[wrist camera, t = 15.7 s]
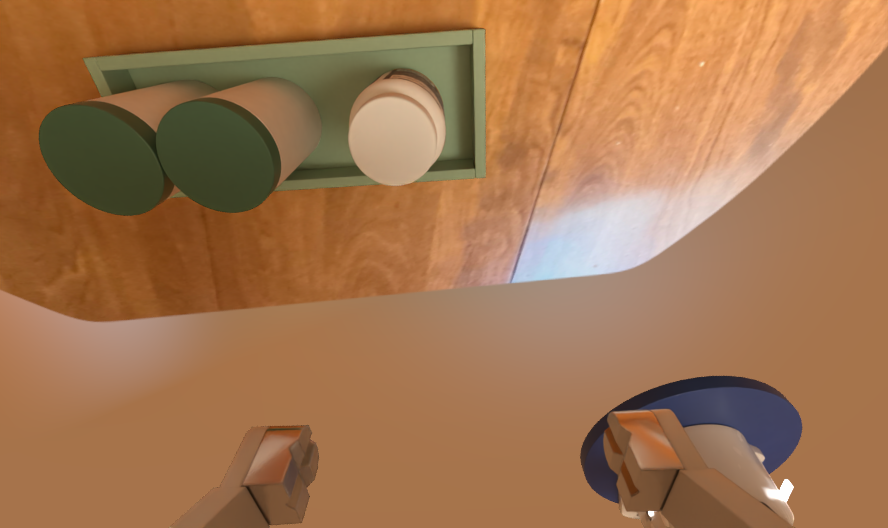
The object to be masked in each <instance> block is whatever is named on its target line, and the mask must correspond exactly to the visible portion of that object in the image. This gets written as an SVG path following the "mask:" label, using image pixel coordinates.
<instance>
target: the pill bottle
mask: <svg viewBox="0 0 888 528" xmlns="http://www.w3.org/2000/svg"><path fill="white" fill-rule="evenodd" d="M445 139H446V125H445V114H444V105H443V101H442V98H441V95H440V93H439V91H438V89H437V88H436V86H435V85H434V83H433V82H432V81H431V80H430V79H429V78H428V77H426V76H425V75H423V74H422V73H420V72H418V71H415V70H411V69H394V70H391V71H389V72H387V73H385V74H383V75H381V76H380V77H378V78H377V79H376V80H375V81H374V82H372V83H371V84H370V85H369V86H368V87H366V88H365V89H364V90H363V91H362V92H361V93H360V94H359V95H358V97H357V98H356V100H355V102H354V104H353V107H352V109H351V112H350V118H349V133H348V143H349V149H350V152H351V155H352V158H353V160H354V162H355V163H356V165H357V166H358V168H359V169H360V170H361V171H362V172H363V173H364V174H365V175H366V176H368V177H369V178H371V179H372V180H374V181H376V182H378V183H381V184H384V185H389V186H401V185H406V184H409V183H412V182H414V181H416V180H418V179H419V178H420V177H422V176H423V175H424V174H425V173H426V172H427V171H428V169H429V168H430V167H431V166H432V165H433V164H434V163H435V161H436V160H437V159H438V157H439V156H440V154H441V152H442V150H443V148H444V144H445Z"/></svg>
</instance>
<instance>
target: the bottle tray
mask: <svg viewBox="0 0 888 528" xmlns="http://www.w3.org/2000/svg"><path fill="white" fill-rule="evenodd" d="M83 60H84V62H85V64H86V66H87V68H88V70H89V72H90V74H91V76H92V78H93V80H94V82H95V84H96V87H97V89H98V91H99V93H100V95H101V97H105V96H110V95H114V94H119V93H124V92H128V91H133V90H137V89H142V88H146V87H151V86H156V85H160V84H165V83H169V82H174V81H178V80H196V81H200V82H203V83H205V84H208V85H209V86H211V87H213V88H215V89H216V90H218V91H223V90H226V89H229V88H232V87H236V86H239V85H242V84H245V83H248V82H252V81H255V80H258V79H261V78H266V77H278V78H282V79H286V80H288V81H291V82H293V83H295V84H296V85H298V86H299V87H301V88H302V89H303V90H304V91H305V92H306V93H307V94H308V95H309V96H310V97H311V99H312V100H313V102H314V103H315V105H316V107H317V109H318V111H319V114H320V118H321V123H322V133H321V138H320V141H319V143H318V145H317V147H316V148H315V150H314V151H313V152H312V153H311V154H310V155H309V156H308V157H307V158H306V159H305V160H304V161H303V162H302V163H301V164H300V165H299V166H298V167H297V168H296V169H295V170H294V171H293V172H292V173H291V174H290V175H289V176H288V177H287V178H286V179H285V180H284V181H283V182H282V183H281V184H280V185H279V186H278V187H277V188H276V189H275V190H274V191H286V190H301V189H317V188H333V187H348V186H364V185H380V184H381V183H378V182H376V181H374V180H372V179H371V178H369V177H368V176H366V175H365V174H364V173H363V172H362V171H361V170H360V169H359V168H358V166H357V165H356V163H355V162H354V160H353V158H352V155H351V152H350V149H349V143H348V133H349V118H350V112H351V109H352V107H353V104H354V102H355V100H356V98H357V97H358V95H359V94H360V93H361V92H362V91H363V90H364V89H365V88H366V87H368V86H369V85H370V84H371V83H372V82H374V81H375V80H376V79H377V78H378V77H380V76H381V75H383V74H385V73H387V72H389V71H391V70H394V69H411V70H415V71H418V72H420V73H422V74H423V75H425V76H426V77H428V78H429V79H430V80H431V81H432V82H433V83H434V85H435V86H436V88H437V89H438V91H439V93H440V95H441V98H442V101H443V105H444V114H445V125H446V139H445V144H444V148H443V150H442V152H441V154H440V156H439V157H438V159H437V160H436V161H435V163H434V164H433V165H432V166H431V167H430V168H429V169H428V171H427V172H426V173H425V174H424V175H423V176H422V177H420V178H419V179H418V180H416V181H414V182H427V181H443V180H459V179H474V178H486V95H485V29H483V28H475V29H461V30H448V31H434V32H420V33H406V34H393V35H379V36H365V37H352V38H338V39H324V40H311V41H297V42H283V43H270V44H256V45H242V46H229V47H215V48H201V49H187V50H174V51H160V52H146V53H133V54H119V55H108V56H98V57H87V58H83ZM175 197H188V196H186V195H185V194H184V193H183V192H181V191H179V192H178V193H176V194H174V195H173V196H171V197H170V198H175Z"/></svg>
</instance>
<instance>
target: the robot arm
mask: <svg viewBox="0 0 888 528" xmlns="http://www.w3.org/2000/svg"><path fill="white" fill-rule="evenodd" d="M607 422H608V424H609V426H610V427H609V428H607V429H606V430H605V431H604V436H603V447H604V452H605V456H606V460H607V462H608V465H609V468H610V469H612V470H613V471H614V472H615V473H616V474H617V475H618V480H617V483H616V486H617V488H618V498H619V509H620V511H621V513H622V515H624V516H627V517H630V518H635V519H641V522H642V524H643V526H644V528H795V527H793V526H792V525H793V521H794V516H793V513H792V511H791V510H790V508H789V506H788V505H787V503H786V501H787V499H788V497H789V495H790V493H791V491H792V489H793V486H792V485H791V483H790V482H789V481H788V480H784V483H783V485H782V487H781V489H780V491H779V490H778V488H777V487H776V485H775V484H774V482H773V480H772V479H771V477H770V476H769V474H768V472H767V471H766V469H765V468H764V466H763V464H762V462H763V461H764V459H765V457H764V455H763V453H762V452H761V450H760V449H759V448H757V447H755V446H753V445H750V444H749V443H748V442H747V441H746V439H745V437H744V436H743V434H742V433H740V432H739V431H738V430H736V429H734V428H731V427H728V426H724V425H715V424H704V425H694V426H688V427H684V428H683V427H682V425H681V423H680V422H679V420H678V419H677V417H676V415H675V414H674V412H672V411H671V410H670V409H655V410H648V409H643V410H627V411H611V412H610V413H609V414H608V418H607ZM311 434H312V432H311V430H310V427H309V425H303V426H302V425H301V426H261V427H251V429H250V430H249V431H248V432H247V433H246V435H245V437H244V439H243V441H242V443H241V445H240V447H239V449H238V451H237V453H236V455H235V457H234V459H233V461H232V463H231V465H230V467H229V469H228V471H227V473H226V475H225V477H224V479H223V481H222V483H221V485H220V487H217V488H213V489H212V490H211V491H210V492H208V493H207V494H206V495H205V496H204V497H203V498H202V499H200V500H199V501H198V502H197V503H196V504H195V505H194V506H193V507H191V508H190V509H189V510H188V511H187V512H186V513H185V514H184V515H182V516H181V517H180V518H179V519H178V520H177V521H176V522H175V523H173V524H172V525H171V526H170V527H169V528H269V527H270V526H269V525H280V524H296V523H302V521H303V518H304V514H305V511H306V507H307V504H308V500H309V497H310V496H309V493H308V490H307V487H308V486H309V485H310V483H312V481H314V479H315V476H316V473H317V469H318V460H319V453H318V447H317V445H316V443H315V442H314V441H312V440H311V439H310V437H311Z"/></svg>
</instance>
